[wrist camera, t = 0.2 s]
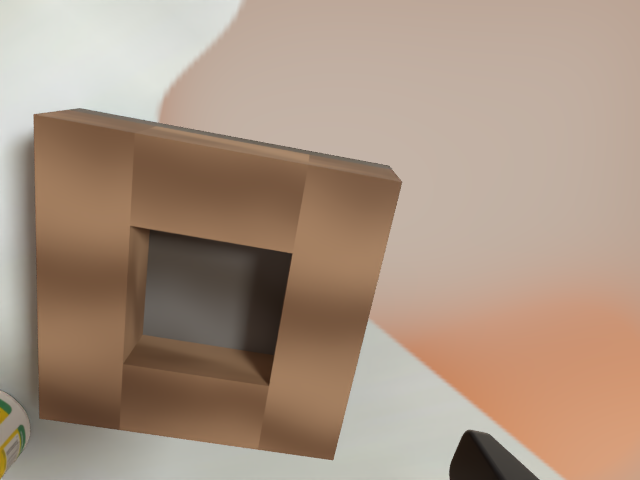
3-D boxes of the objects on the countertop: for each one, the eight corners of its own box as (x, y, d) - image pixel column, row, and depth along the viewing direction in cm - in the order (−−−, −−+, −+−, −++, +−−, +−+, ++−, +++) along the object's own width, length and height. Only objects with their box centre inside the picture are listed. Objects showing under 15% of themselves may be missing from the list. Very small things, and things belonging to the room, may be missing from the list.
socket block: (331, 411, 26) (333, 460, 23) (76, 373, 25) (39, 418, 22) (388, 165, 21) (402, 182, 18) (79, 108, 20) (33, 114, 17)
